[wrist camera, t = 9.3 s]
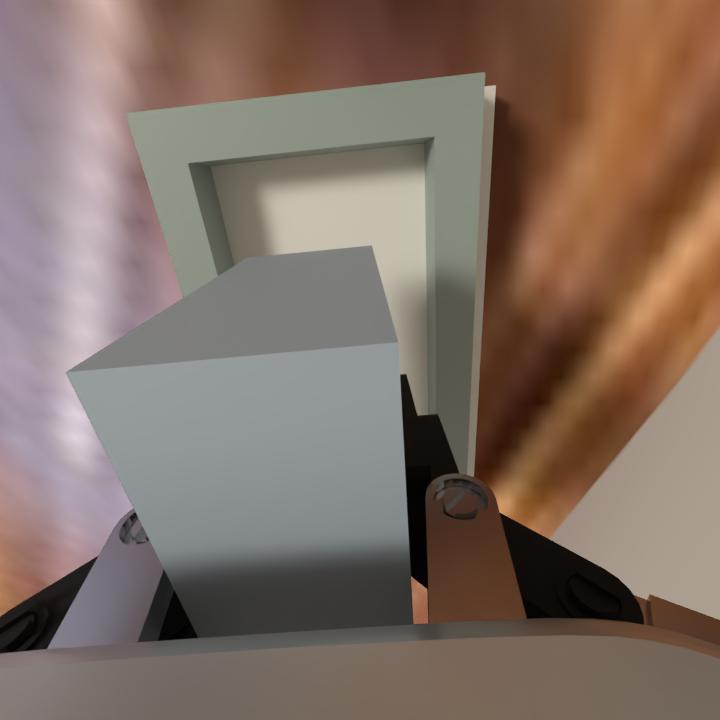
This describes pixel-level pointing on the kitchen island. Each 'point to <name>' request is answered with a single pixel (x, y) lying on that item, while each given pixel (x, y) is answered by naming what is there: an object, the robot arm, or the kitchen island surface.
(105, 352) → the pale grey cuboid block
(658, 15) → the kitchen island surface
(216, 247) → the grey tray
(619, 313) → the kitchen island surface
